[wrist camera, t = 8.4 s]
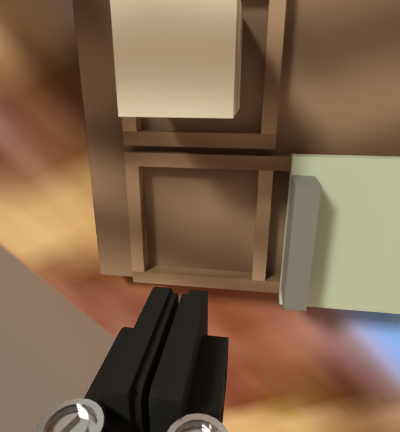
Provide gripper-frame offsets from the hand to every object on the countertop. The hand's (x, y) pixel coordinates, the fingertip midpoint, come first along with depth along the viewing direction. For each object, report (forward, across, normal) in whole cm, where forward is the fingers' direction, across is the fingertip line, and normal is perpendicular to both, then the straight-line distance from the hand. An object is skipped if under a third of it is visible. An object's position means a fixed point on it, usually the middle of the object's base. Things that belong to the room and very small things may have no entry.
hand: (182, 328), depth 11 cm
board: (+14, -2, -3) cm, 14 cm away
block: (+12, +1, -8) cm, 14 cm away
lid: (+11, -9, +1) cm, 14 cm away
